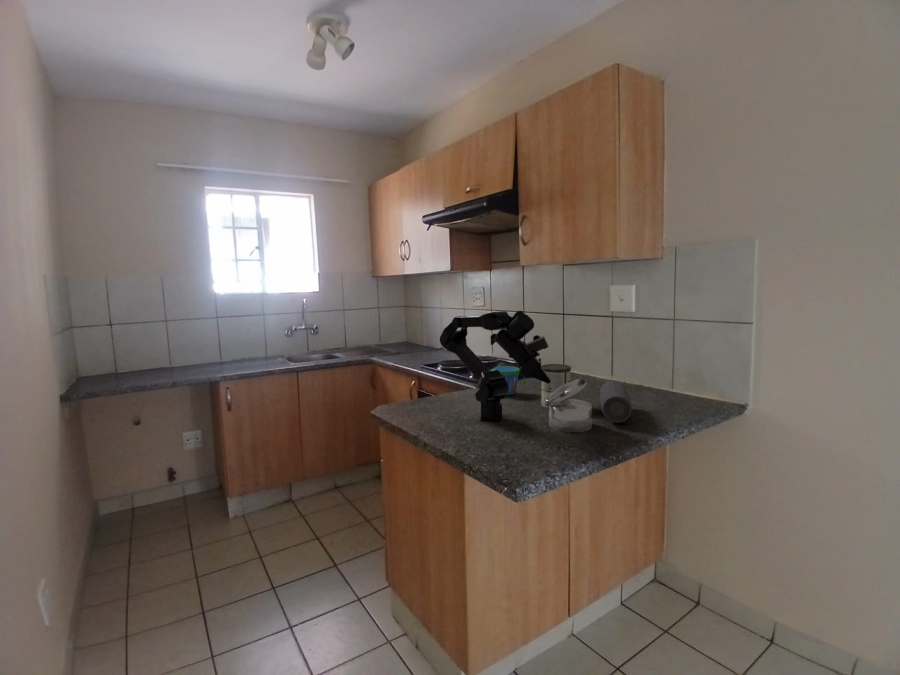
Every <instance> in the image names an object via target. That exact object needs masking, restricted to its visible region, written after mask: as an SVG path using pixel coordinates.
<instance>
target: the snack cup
mask: <svg viewBox="0 0 900 675" xmlns="http://www.w3.org/2000/svg"><path fill="white" fill-rule="evenodd" d="M494 370H498V371H500V373H501V374H502V375H503V376H504V377H506V378H505V380H506V381H507V383H508V390H507V393H506V396H513V395H515V394H516V393H517V389H518V388H517V387H518V381H519V380H518V379H519V375H520V367H517V366H508V365H507V366H506V365H505V366H495V367H493V368H492V369H491V370H490V371H494ZM522 378H523V386H525V385H526V384H527V377H526V378H524V377H523V376H522Z"/></svg>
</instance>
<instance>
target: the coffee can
mask: <svg viewBox="0 0 900 675" xmlns="http://www.w3.org/2000/svg"><path fill="white" fill-rule="evenodd" d="M541 366H542V368H543V369H544V371H545V373H546V374H547V376H548V377H549V379H550V380H551V382H550V383H549V384H548V383H545V382H543V381H541V398H540V399H541V402H540V403H541V406H542V407H544V408H546V409H549V405H546V401H545V398H546V397H548V395H549V394H550V393H552V392H553V391H554V390H556V389H557V388H559V387H560V386H562V385H564V384H566V383H568V382H570V381H572V380H571V372H572V371H571V369H572V366H570V365H568V364H561V363H548V364H543V365H541Z"/></svg>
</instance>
